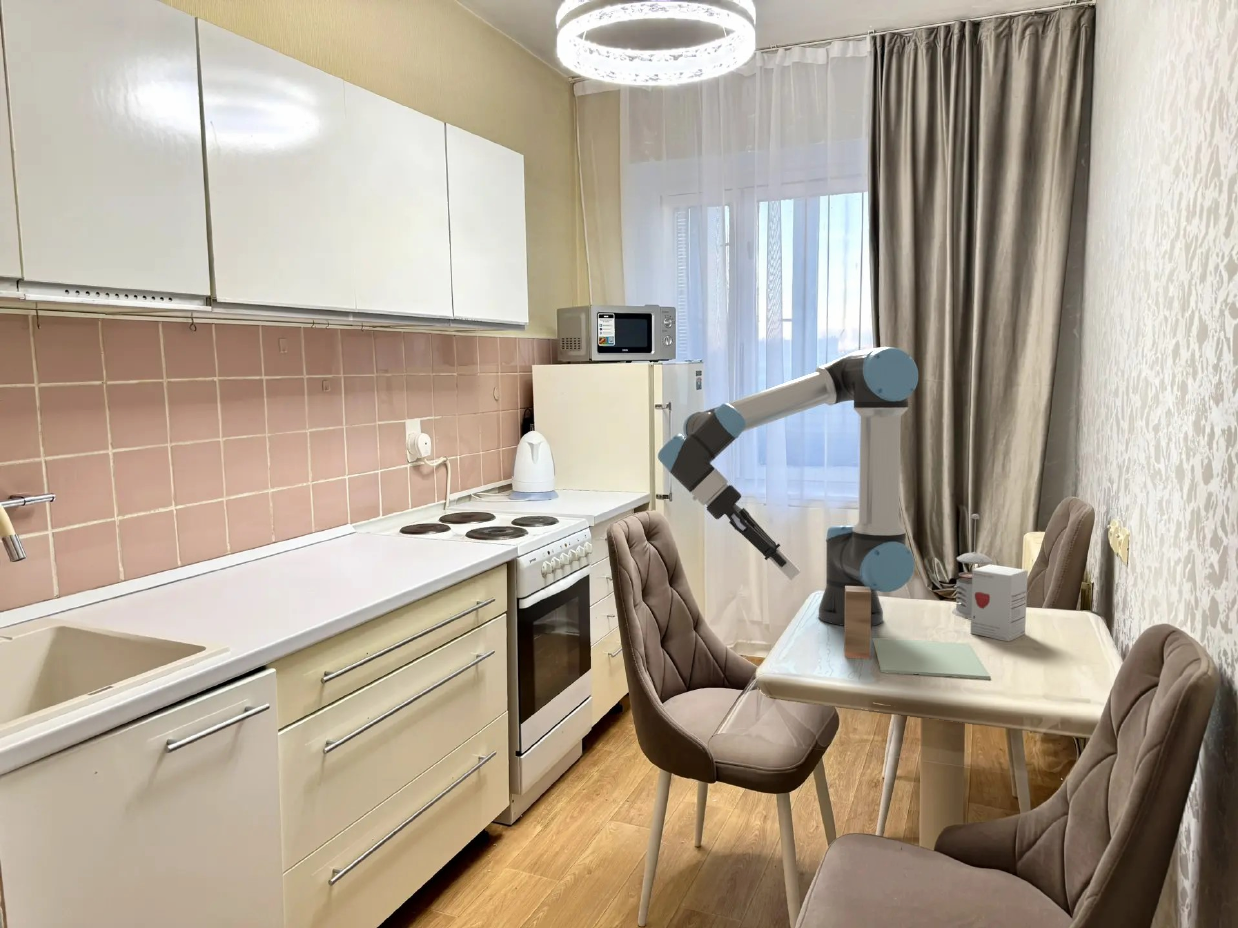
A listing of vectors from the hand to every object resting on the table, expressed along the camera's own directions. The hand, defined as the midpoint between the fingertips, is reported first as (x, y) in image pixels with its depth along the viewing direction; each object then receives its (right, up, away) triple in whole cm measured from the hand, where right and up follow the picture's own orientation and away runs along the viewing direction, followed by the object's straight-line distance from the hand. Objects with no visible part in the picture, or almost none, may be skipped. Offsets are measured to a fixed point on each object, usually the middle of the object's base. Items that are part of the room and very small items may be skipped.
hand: (795, 575), depth 177 cm
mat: (+26, -17, -4) cm, 31 cm away
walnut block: (+13, -17, -1) cm, 21 cm away
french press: (+51, -14, +30) cm, 61 cm away
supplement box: (+49, -15, +13) cm, 53 cm away
